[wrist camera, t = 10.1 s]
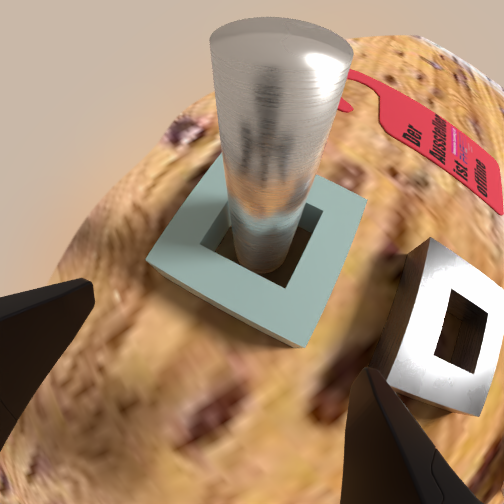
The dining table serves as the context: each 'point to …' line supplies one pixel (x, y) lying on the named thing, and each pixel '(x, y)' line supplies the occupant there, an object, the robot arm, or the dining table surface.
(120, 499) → the dining table surface
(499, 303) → the socket block
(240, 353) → the dining table surface
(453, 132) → the door hanger
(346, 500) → the robot arm
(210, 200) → the block
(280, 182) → the steel pin
